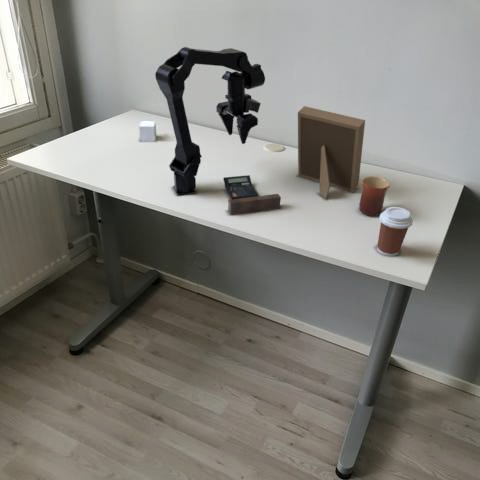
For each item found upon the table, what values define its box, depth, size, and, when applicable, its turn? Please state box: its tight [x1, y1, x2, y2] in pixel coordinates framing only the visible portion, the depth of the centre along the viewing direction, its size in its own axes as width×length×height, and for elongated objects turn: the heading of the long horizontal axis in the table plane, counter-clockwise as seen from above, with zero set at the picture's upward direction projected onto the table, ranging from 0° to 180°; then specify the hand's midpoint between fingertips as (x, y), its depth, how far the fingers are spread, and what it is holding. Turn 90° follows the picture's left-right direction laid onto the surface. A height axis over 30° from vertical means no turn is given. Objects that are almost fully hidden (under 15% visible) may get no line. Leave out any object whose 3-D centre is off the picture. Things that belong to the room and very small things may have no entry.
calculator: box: [222, 174, 260, 200], centre depth 168 cm, size 9×12×3 cm
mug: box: [358, 175, 391, 217], centre depth 158 cm, size 12×9×10 cm
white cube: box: [138, 120, 158, 142], centre depth 202 cm, size 6×6×6 cm
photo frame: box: [297, 105, 366, 199], centre depth 165 cm, size 15×22×25 cm
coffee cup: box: [376, 206, 414, 257], centre depth 139 cm, size 9×9×12 cm
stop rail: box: [227, 193, 282, 216], centre depth 157 cm, size 17×2×4 cm, turn 109°
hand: (236, 139), depth 171 cm, fingers open, 9 cm apart
